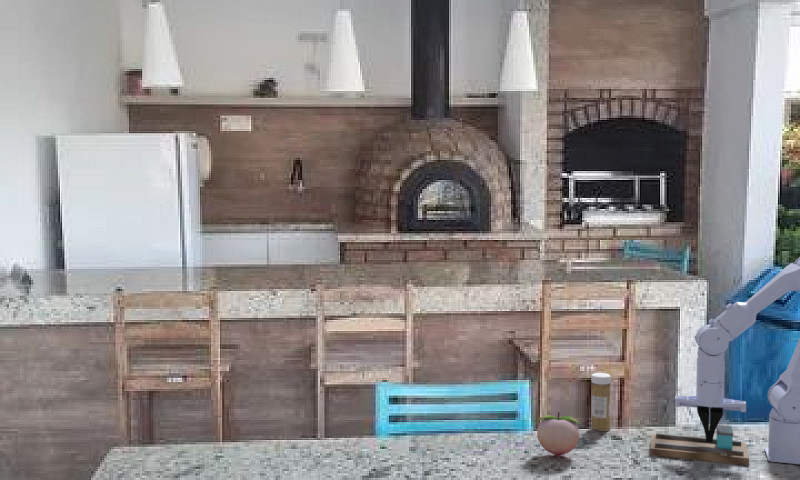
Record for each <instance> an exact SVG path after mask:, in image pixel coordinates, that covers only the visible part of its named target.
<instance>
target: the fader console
mask: <svg viewBox="0 0 800 480" xmlns="http://www.w3.org/2000/svg"><path fill="white" fill-rule="evenodd" d="M649 453H650V454H649V455H650V456H657V457H663V458H665V457H666V458H675V459H684V460H686V459H687V460H694V461H695V460H697V461H706V462H715V463H724V464H736V465H743V466H744V465H745V466H750V457H749V453H748V448H747V444H746V442H742V440H737V439H735V440H734V439H733V441H732V449H722V448H717V444H716V438H714V437H713V442H706V436H705V437H703V436H694V435H693V436H691V435H684V434H683V435H682V434H681V435H680V434H672V433H670V434H669V433H659V432H655V433H651V439H650V451H649Z"/></svg>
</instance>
